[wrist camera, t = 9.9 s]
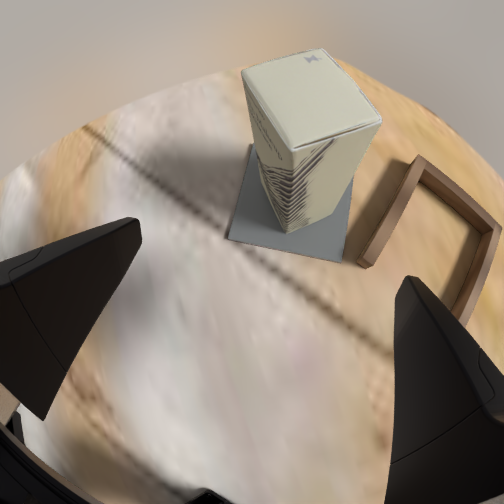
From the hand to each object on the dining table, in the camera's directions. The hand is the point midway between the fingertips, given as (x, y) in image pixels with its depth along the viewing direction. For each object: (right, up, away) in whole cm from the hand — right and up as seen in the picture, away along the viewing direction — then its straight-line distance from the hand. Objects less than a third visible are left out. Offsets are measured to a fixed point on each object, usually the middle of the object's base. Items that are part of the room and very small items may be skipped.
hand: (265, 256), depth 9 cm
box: (+3, +4, +14) cm, 15 cm away
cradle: (+15, +1, +12) cm, 19 cm away
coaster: (+3, +5, +14) cm, 15 cm away
